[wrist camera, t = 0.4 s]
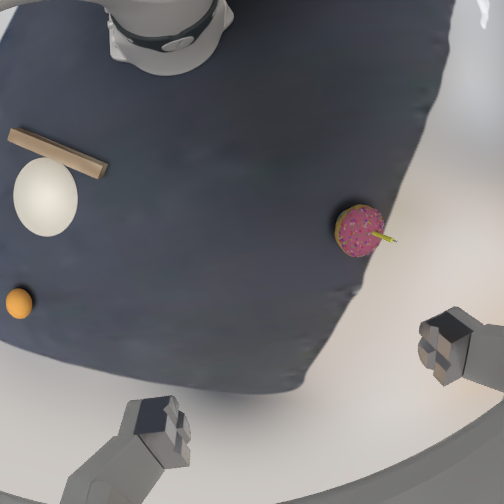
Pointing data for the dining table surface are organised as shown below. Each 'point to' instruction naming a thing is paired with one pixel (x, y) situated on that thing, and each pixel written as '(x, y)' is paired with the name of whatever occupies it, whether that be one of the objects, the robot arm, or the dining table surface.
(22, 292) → the ball
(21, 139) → the bar
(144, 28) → the robot arm
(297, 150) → the dining table surface
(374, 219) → the cupcake
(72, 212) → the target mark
